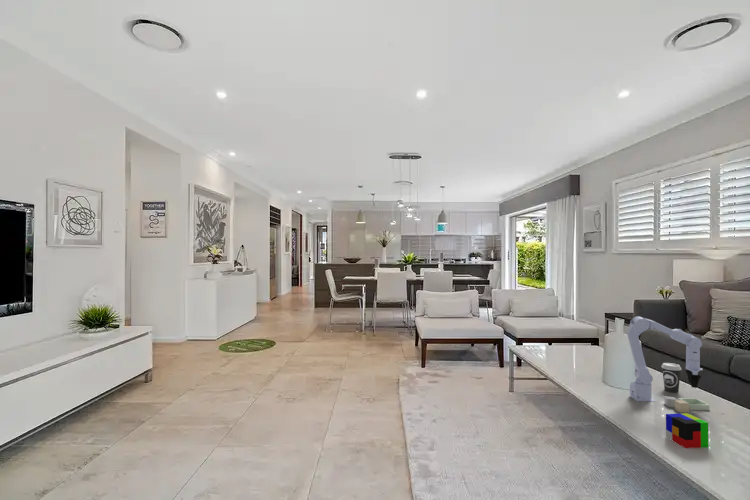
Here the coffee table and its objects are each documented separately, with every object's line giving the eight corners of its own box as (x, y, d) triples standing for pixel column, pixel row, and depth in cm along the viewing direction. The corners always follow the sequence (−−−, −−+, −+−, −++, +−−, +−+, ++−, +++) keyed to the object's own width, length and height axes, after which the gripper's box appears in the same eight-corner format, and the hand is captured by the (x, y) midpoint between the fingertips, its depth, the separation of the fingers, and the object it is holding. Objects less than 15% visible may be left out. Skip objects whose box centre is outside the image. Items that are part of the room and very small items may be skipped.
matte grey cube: (667, 406, 211) (667, 398, 211) (664, 403, 215) (664, 396, 215) (677, 407, 209) (677, 399, 209) (674, 404, 213) (674, 397, 213)
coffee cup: (685, 394, 231) (685, 367, 231) (666, 392, 233) (666, 366, 233) (676, 388, 240) (676, 362, 240) (658, 387, 242) (658, 362, 242)
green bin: (690, 410, 207) (690, 404, 207) (678, 403, 216) (678, 398, 216) (709, 410, 206) (709, 405, 206) (696, 404, 215) (696, 398, 215)
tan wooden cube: (680, 412, 203) (680, 403, 203) (674, 409, 207) (674, 400, 207) (689, 412, 203) (689, 403, 203) (683, 409, 207) (683, 400, 207)
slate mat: (679, 415, 200) (679, 414, 200) (662, 404, 214) (662, 404, 214) (697, 415, 200) (697, 415, 200) (678, 405, 214) (678, 404, 214)
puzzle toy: (666, 437, 176) (665, 414, 176) (687, 436, 177) (687, 413, 177) (685, 448, 166) (685, 423, 166) (708, 447, 167) (708, 422, 167)
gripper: (705, 363, 207) (705, 390, 207) (700, 357, 220) (700, 382, 220) (687, 361, 211) (687, 388, 211) (683, 355, 224) (683, 380, 223)
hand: (692, 385), depth 216 cm, fingers open, 7 cm apart
